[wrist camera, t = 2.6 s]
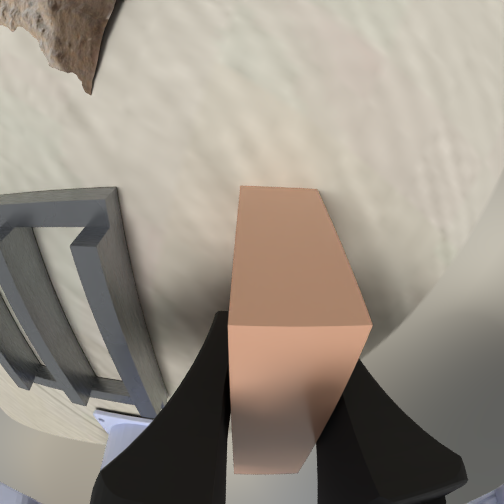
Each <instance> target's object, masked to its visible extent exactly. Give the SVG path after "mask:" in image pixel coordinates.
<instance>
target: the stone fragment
mask: <svg viewBox="0 0 504 504" xmlns="http://www.w3.org/2000/svg"><path fill="white" fill-rule="evenodd" d="M115 2H116V0H0V25H4V26H6V27H8V28H9V29H10V30H11V31H12V32H13V31H15V30H16V28H17V26H19V27H23V28H25V29H26V30H27V31H29V32H30V33H31V34H32V35H33V37H34V38H36V39H37V40H38V42H39V45H40V49H41V51H43V53H44V55H45V57H46V58H47V60H48V63H49V66H51V67H52V68H56V69H58V70H60V71H64V72H67V73H70V72H73V73H75V74H76V75H77V76H78V78H79V79H80V80H81V81H82V86H83V88H84V90H85V92H86V93H88V94H90V95H91V89H92V80H93V77H94V74H95V69H96V65H97V61H98V55H99V50H100V45H101V40H102V36H103V33H104V29H105V26H106V24H107V22H108V20H109V17H110V15H111V13H112V11H113V9H114V5H115Z"/></svg>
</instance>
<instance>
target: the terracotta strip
mask: <svg viewBox="0 0 504 504" xmlns="http://www.w3.org/2000/svg"><path fill="white" fill-rule="evenodd" d="M372 326H373V324H372V321H371V319H370V316H369V313H368V310H367V308H366V305H365V302H364V300H363V297H362V294H361V292H360V289H359V286H358V284H357V281H356V279H355V276H354V274H353V271H352V269H351V266H350V264H349V261H348V259H347V256H346V254H345V251H344V249H343V247H342V244H341V242H340V239H339V237H338V235H337V232H336V230H335V228H334V225H333V223H332V221H331V219H330V216H329V214H328V212H327V210H326V207H325V205H324V203H323V201H322V198H321V196H320V194H319V192H318V190H317V189H304V188H285V187H261V186H240V195H239V205H238V215H237V226H236V237H235V248H234V259H233V270H232V281H231V293H230V305H229V317H228V348H229V376H230V401H231V423H232V442H233V460H234V474H295V473H298V472H299V470H300V469H301V467H302V466H303V464H304V462H305V461H306V459H307V457H308V456H309V454H310V452H311V450H312V449H313V447H314V445H315V444H316V442H317V440H318V438H319V437H320V435H321V433H322V431H323V429H324V427H325V426H326V424H327V422H328V420H329V418H330V416H331V414H332V412H333V411H334V409H335V407H336V405H337V403H338V401H339V399H340V397H341V395H342V393H343V391H344V389H345V387H346V385H347V382H348V380H349V378H350V376H351V374H352V372H353V370H354V368H355V365H356V363H357V361H358V359H359V356H360V354H361V352H362V350H363V347H364V345H365V343H366V340H367V338H368V336H369V333H370V331H371V328H372Z"/></svg>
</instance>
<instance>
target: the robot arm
mask: <svg viewBox="0 0 504 504" xmlns="http://www.w3.org/2000/svg"><path fill="white" fill-rule="evenodd" d="M228 317H229V311H218V312H217V313H216V314H215V317H214V320H213V323H212V326H211V328H210V331H209V333H208V335H207V338H206V340H205V342H204V344H203V346H202V348H201V350H200V352H199V354H198V355H197V357H196V359H195V361H194V363H193V365H192V366H191V368H190V370H189V371H188V373H187V374H186V376H185V378H184V379H183V381H182V383H181V384H180V386H179V387H178V388H177V390H176V391H175V393H174V394H173V396H172V397H171V398H170V400H169V401H168V402H167V404H166V405H165V406H164V407H163V409H162V410H161V411H160V412H159V414H158V415H157V416H156V417H155V419H154V420H153V419H146V418H139V417H133V416H127V415H121V414H116V413H111V412H106V411H101V410H95V411H94V413H93V415H94V417H95V418H96V419H97V420H98V422H99V423H100V424H101V426H102V427H103V428H104V429H105V430H106V432H107V433H108V434H109V436H108V440H107V444H106V448H105V453H104V457H103V461H102V466H101V470H100V473H99V475H98V477H97V479H96V482H95V485H94V487H93V491H92V495H91V501H90V504H225V501H226V463H227V438H228V428H229V421H230V414H231V401H230V376H229V348H228ZM316 448H317V473H318V504H446V500H445V495H447V494H449V493H451V492H453V491H455V490H456V489H458V488H460V487H462V486H463V485H465V484H466V483H467V481H468V478H467V474H466V470H465V466H464V463H463V461H462V458H461V457H460V456H459V455H457V454H456V453H454V452H453V451H451V450H450V449H448V448H447V447H445V446H444V445H442V444H441V443H439V442H438V441H437V440H435V439H434V438H433V437H431V436H430V435H429V434H428V433H426V432H425V431H424V430H423V429H422V428H421V427H420V426H418V425H417V424H416V423H415V422H414V421H413V420H412V419H411V418H410V417H408V416H407V415H406V414H405V413H404V412H403V411H402V410H401V409H400V408H399V407H398V406H397V405H396V404H395V403H394V402H393V400H392V399H391V398H390V397H389V396H388V395H387V394H386V393H385V391H384V390H383V389H382V388H381V387H380V386H379V384H378V383H377V382H376V381H375V379H374V378H373V377H372V375H371V374H370V373H369V372H368V370H367V369H366V367H365V366H364V365H363V363H362V362H361V360H360V359H358V361H357V363H356V365H355V368H354V370H353V372H352V374H351V376H350V378H349V380H348V382H347V385H346V387H345V389H344V391H343V393H342V395H341V397H340V399H339V401H338V403H337V405H336V407H335V409H334V411H333V412H332V414H331V416H330V418H329V420H328V422H327V424H326V426H325V427H324V429H323V431H322V433H321V435H320V437H319V438H318V440H317V442H316ZM0 504H42V503H40V502H37V501H36V500H35V499H33V498H31V497H29V496H27V495H25V494H23V493H21V492H19V491H17V490H15V489H13V488H11V487H9V486H7V485H5V484H4V483H2V482H0ZM466 504H504V484H503V485H501V486H499V487H498V488H496V489H495V490H493V491H491V492H489V493H487V494H485V495H483V496H481V497H479V498H477V499H475V500H473V501H470V502H468V503H466Z"/></svg>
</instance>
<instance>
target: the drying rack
mask: <svg viewBox="0 0 504 504" xmlns="http://www.w3.org/2000/svg"><path fill="white" fill-rule="evenodd" d="M32 227H85V228H84V229H83V230H82V231H81V233H80V234H79V235H78V236H77V238H76V239H75V240H74V241H73V243H72V244H71V245H70V249H71V252H72V255H73V258H74V262H75V265H76V268H77V271H78V274H79V277H80V280H81V283H82V286H83V288H84V291H85V294H86V297H87V300H88V302H89V305H90V308H91V310H92V313H93V315H94V318H95V320H96V323H97V325H98V328H99V330H100V333H101V335H102V337H103V340H104V342H105V344H106V347H107V349H108V351H109V353H110V355H111V358H112V360H113V362H114V364H115V366H116V368H117V370H118V373H119V375H120V377H121V379H122V381H117V380H111V379H105V378H99V377H96V376H95V374H94V372H93V370H92V368H91V367H90V365H89V363H88V361H87V359H86V357H85V355H84V354H83V352H82V350H81V348H80V346H79V344H78V342H77V340H76V338H75V336H74V334H73V332H72V330H71V328H70V325H69V323H68V321H67V319H66V317H65V315H64V312H63V310H62V308H61V306H60V303H59V301H58V299H57V296H56V294H55V291H54V289H53V287H52V284H51V282H50V279H49V276H48V274H47V271H46V268H45V266H44V263H43V260H42V257H41V255H40V252H39V249H38V246H37V243H36V240H35V237H34V234H33V230H32ZM0 285H1V287H2V289H3V291H4V293H5V295H6V297H7V299H8V301H9V303H10V305H11V307H12V309H13V311H14V313H15V315H16V317H17V319H18V320H19V322H20V324H21V326H22V328H23V329H24V331H25V333H26V335H27V336H28V338H29V340H30V341H31V343H32V345H33V346H34V348H35V350H36V351H37V353H38V354H39V356H40V357H41V359H42V361H43V362H44V364H45V365H46V366H43V365H41V364H40V363H39V361H38V360H37V358H36V357H35V355H34V354H33V352H32V350H31V349H30V347H29V346H28V344H27V342H26V341H25V339H24V337H23V336H22V334H21V332H20V331H19V329H18V327H17V325H16V324H15V322H14V320H13V318H12V316H11V314H10V313H9V311H8V309H7V307H6V305H5V303H4V301H3V299H2V297H1V295H0V364H1V365H2V366H3V368H4V369H5V370H6V372H7V373H8V374H9V376H10V377H11V378H12V379H13V381H14V382H15V383H16V384H17V386H18V387H20V388H23V389H26V390H30V388H31V386H32V384H33V382H34V383H37V384H41V385H44V386H48V387H51V388H55V389H59V390H63V391H64V392H65V394H66V395H67V396H68V398H69V399H70V400H71V402H72V403H75V404H79V405H83V406H87V403H88V400H89V397H93V398H98V399H103V400H108V401H114V402H120V403H125V404H132V405H135V406H136V408H137V410H138V411H139V413H140V415H141V417H147V418H154V419H155V417H156V416H157V415H158V414H159V412H160V410H161V409H163V407H164V406H165V405H166V403H167V398H168V394H167V391H166V388H165V385H164V382H163V379H162V376H161V373H160V370H159V367H158V364H157V361H156V358H155V355H154V351H153V348H152V345H151V341H150V338H149V334H148V331H147V327H146V324H145V320H144V316H143V313H142V309H141V305H140V301H139V297H138V293H137V289H136V285H135V281H134V277H133V272H132V268H131V263H130V259H129V254H128V249H127V245H126V240H125V235H124V229H123V224H122V218H121V213H120V207H119V201H118V195H117V188H116V187H107V188H85V189H68V190H53V191H40V192H28V193H17V194H6V195H0Z"/></svg>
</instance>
